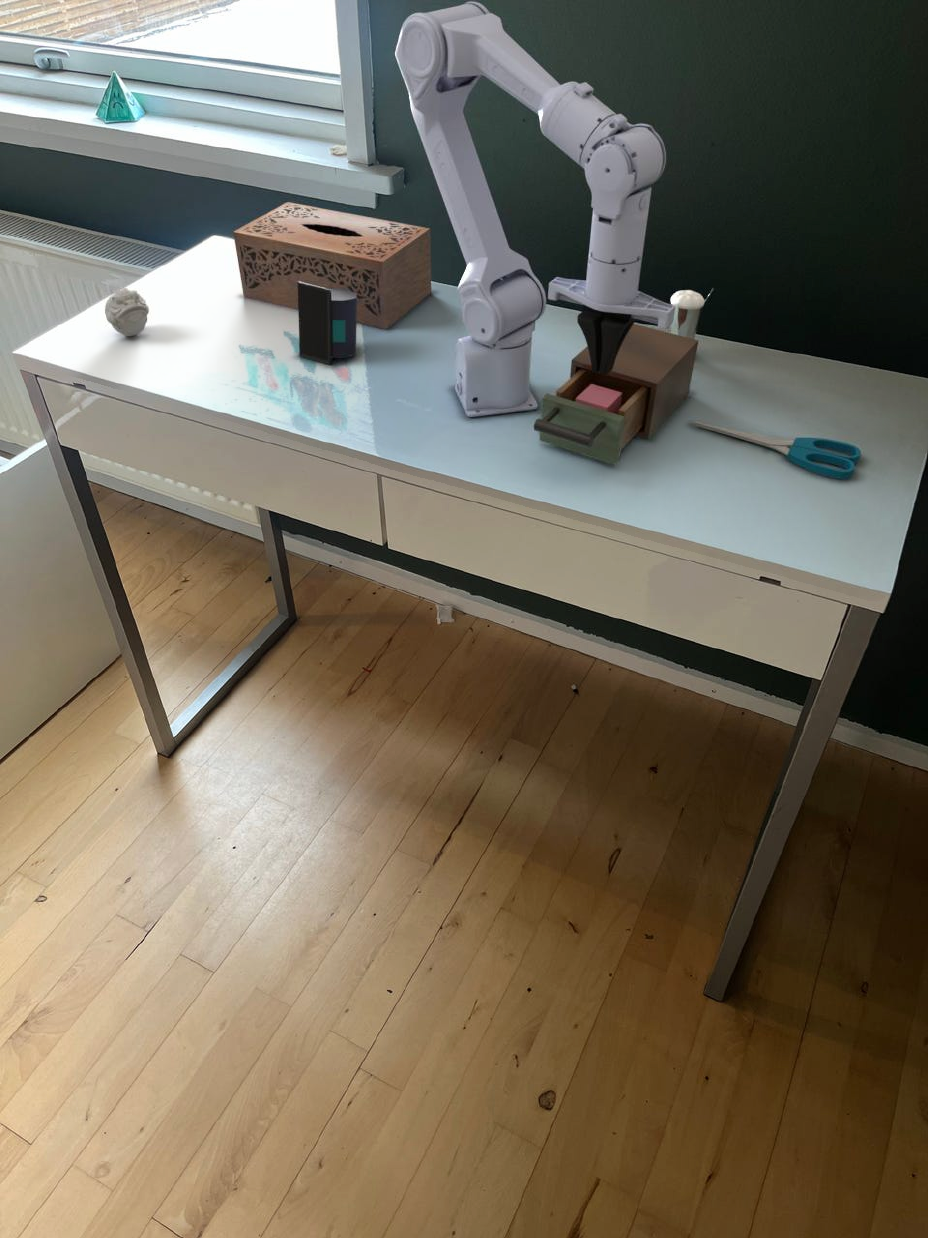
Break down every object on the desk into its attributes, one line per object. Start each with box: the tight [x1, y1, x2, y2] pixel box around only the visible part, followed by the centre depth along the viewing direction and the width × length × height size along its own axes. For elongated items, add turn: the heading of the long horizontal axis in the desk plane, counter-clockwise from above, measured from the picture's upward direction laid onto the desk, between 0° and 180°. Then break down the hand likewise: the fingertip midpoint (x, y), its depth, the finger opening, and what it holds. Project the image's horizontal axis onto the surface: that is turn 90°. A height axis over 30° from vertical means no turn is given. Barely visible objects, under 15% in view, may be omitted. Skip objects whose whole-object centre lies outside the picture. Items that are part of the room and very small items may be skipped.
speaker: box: [297, 281, 357, 366], centre depth 127 cm, size 8×6×10 cm
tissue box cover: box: [232, 201, 432, 330], centre depth 142 cm, size 26×14×10 cm, turn 64°
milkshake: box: [667, 288, 714, 339], centre depth 127 cm, size 4×5×10 cm
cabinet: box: [569, 323, 699, 440], centre depth 118 cm, size 13×11×8 cm
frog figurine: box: [104, 287, 150, 337], centre depth 133 cm, size 6×7×7 cm
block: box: [576, 384, 622, 415], centre depth 112 cm, size 4×4×4 cm
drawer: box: [533, 368, 651, 465], centre depth 111 cm, size 17×10×6 cm, turn 148°
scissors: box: [693, 421, 862, 480], centre depth 113 cm, size 7×1×20 cm
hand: (602, 370), depth 108 cm, fingers closed
